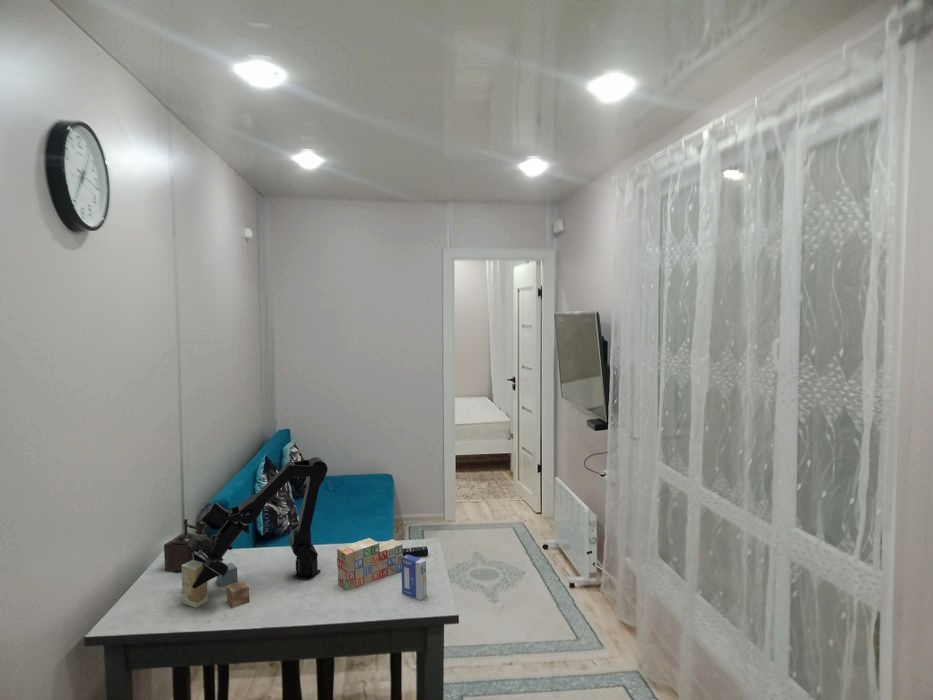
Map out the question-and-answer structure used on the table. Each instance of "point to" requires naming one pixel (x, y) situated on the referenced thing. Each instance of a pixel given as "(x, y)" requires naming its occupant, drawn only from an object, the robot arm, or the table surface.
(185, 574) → the skincare box
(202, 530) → the manual coffee grinder
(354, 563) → the stack of blocks
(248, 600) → the walnut cube
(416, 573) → the walkman
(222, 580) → the slate cube
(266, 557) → the table surface
